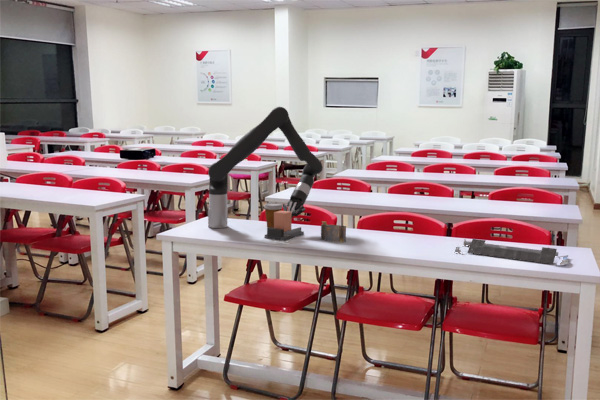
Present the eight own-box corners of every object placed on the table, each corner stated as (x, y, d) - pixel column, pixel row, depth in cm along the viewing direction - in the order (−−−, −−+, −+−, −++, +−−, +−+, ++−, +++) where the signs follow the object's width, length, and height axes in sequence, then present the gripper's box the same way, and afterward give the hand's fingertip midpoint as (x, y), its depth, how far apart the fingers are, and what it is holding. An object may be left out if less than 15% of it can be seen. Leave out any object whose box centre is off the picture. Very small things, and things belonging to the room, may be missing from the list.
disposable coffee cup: (261, 228, 296) (261, 205, 295) (267, 224, 305) (267, 202, 304) (278, 229, 294) (279, 206, 292) (284, 226, 303) (285, 203, 301)
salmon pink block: (281, 230, 280) (281, 210, 279) (291, 232, 277) (291, 211, 276) (273, 233, 275) (273, 212, 274) (284, 234, 272) (284, 213, 271)
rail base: (285, 231, 288) (285, 222, 287) (303, 234, 282) (303, 224, 281) (264, 237, 274) (264, 227, 273) (283, 240, 268) (283, 230, 267)
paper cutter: (465, 245, 264) (465, 234, 263) (572, 259, 241) (573, 246, 240) (453, 253, 248) (454, 241, 248) (567, 269, 226) (568, 255, 225)
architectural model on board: (320, 241, 270) (320, 220, 269) (322, 239, 273) (323, 219, 271) (343, 243, 266) (344, 222, 264) (345, 242, 269) (346, 221, 267)
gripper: (286, 187, 288) (272, 215, 279) (309, 190, 281) (295, 218, 272) (292, 197, 293) (278, 224, 285) (314, 199, 286) (301, 227, 278)
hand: (286, 221), depth 278 cm, fingers closed
